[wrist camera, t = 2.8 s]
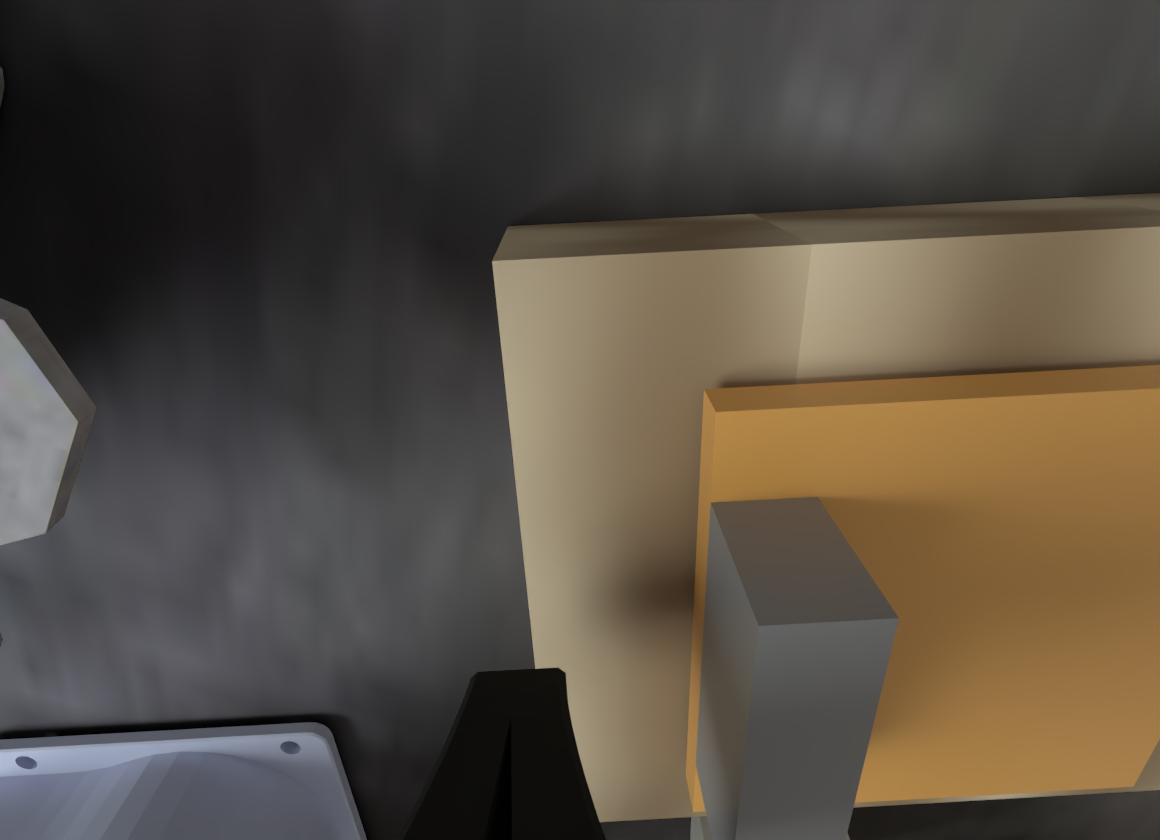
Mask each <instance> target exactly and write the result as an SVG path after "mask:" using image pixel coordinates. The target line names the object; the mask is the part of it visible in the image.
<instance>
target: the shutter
mask: <svg viewBox="0 0 1160 840" xmlns="http://www.w3.org/2000/svg"><path fill="white" fill-rule="evenodd" d="M1159 739H1160V365H1150V366H1132V367H1113V368H1094V369H1075V370H1056V371H1037V372H1019V373H1000V374H981V375H962V376H943V377H924V378H906V379H887V380H868V381H849V382H830V383H811V384H793V385H774V386H755V387H736V388H717V389H704V397H703V418H702V440H701V461H700V482H699V503H698V525H697V546H696V567H695V588H694V609H693V631H692V652H691V673H690V694H689V715H688V737H687V758H686V779H687V784H688V789H689V794H690V800H691V805H692V810H693V812H704V811H706V816H707V821H708V825H709V830H710V835H711V840H846V836H847V832H848V828H849V824H850V820H851V815H852V811H853V807H854V803H860V802H877V801H894V800H912V799H929V798H946V797H964V796H981V795H998V794H1016V793H1033V792H1050V791H1068V790H1085V789H1102V788H1120V787H1134V785H1135V783H1136V781H1137V779H1138V777H1139V776H1140V774H1141V772H1142V770H1143V768H1144V767H1145V765H1146V763H1147V761H1148V759H1149V757H1150V756H1151V754H1152V752H1153V750H1154V748H1155V746H1156V745H1157V743H1158V741H1159Z"/></svg>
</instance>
